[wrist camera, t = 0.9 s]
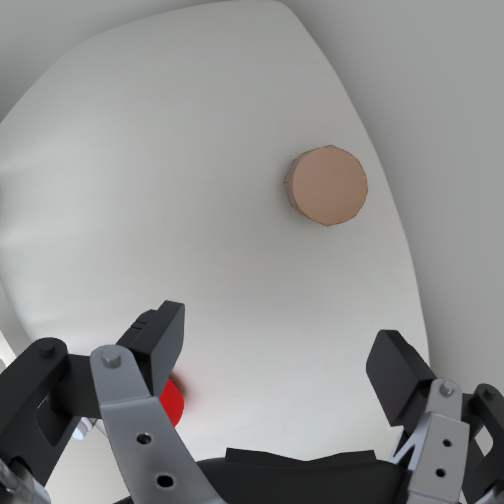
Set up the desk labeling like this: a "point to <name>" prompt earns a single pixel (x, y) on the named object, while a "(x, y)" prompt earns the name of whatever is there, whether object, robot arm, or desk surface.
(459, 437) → the robot arm
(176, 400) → the flower
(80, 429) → the pill bottle
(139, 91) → the desk surface
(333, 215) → the brown octagonal prism
